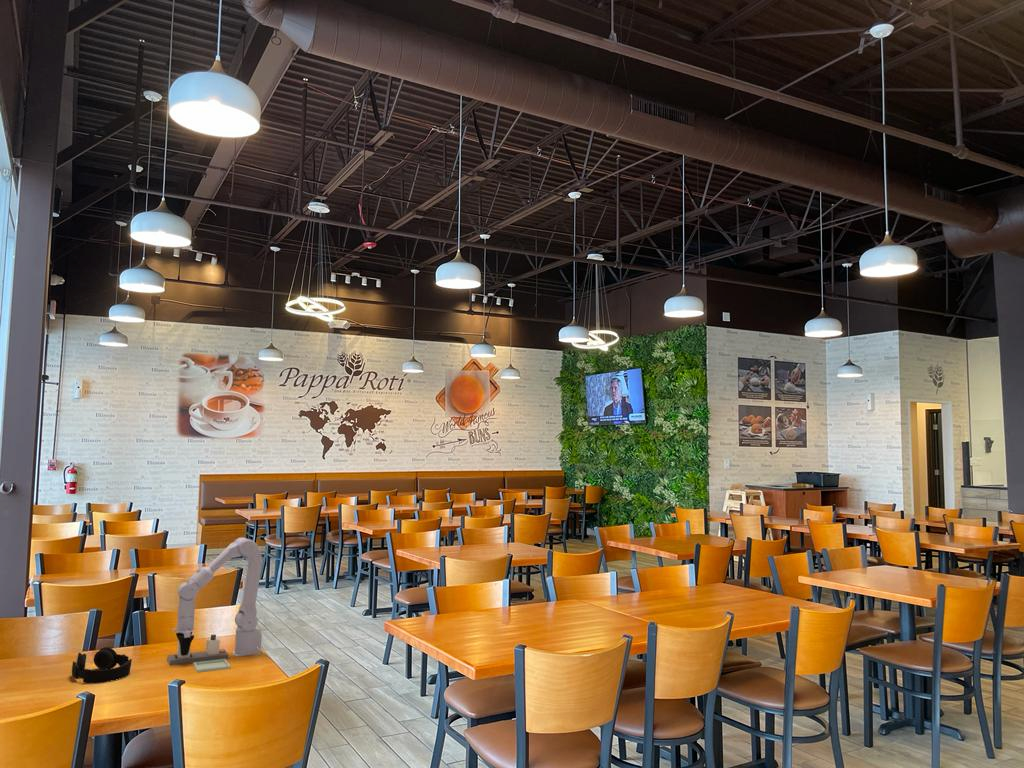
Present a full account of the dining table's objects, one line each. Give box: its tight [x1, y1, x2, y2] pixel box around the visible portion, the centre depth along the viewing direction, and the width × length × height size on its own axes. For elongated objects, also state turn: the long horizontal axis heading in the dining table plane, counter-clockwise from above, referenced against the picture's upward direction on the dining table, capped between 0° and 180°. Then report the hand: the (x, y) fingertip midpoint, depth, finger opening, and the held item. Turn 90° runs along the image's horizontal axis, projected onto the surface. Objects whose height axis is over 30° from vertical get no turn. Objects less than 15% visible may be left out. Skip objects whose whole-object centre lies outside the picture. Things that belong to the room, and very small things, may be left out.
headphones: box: [71, 646, 133, 684], centre depth 256 cm, size 18×8×20 cm
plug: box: [176, 639, 191, 659], centre depth 275 cm, size 4×4×9 cm
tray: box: [192, 659, 232, 673], centre depth 267 cm, size 11×11×1 cm
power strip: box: [167, 634, 229, 666], centre depth 277 cm, size 20×9×9 cm, turn 120°
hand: (183, 653), depth 274 cm, fingers closed on plug, 4 cm apart
